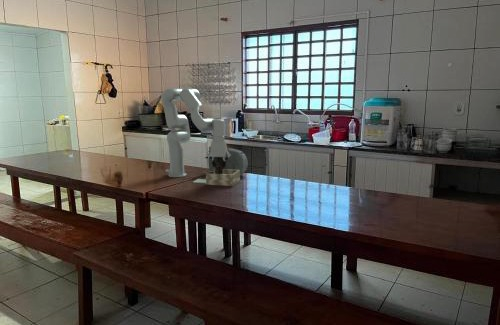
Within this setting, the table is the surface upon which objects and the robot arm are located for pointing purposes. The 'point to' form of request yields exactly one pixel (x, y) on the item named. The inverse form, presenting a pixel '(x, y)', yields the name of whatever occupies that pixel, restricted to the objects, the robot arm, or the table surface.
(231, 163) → the decorative stone tablet
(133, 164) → the table surface
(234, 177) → the beige woven basket
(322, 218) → the table surface
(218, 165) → the statue
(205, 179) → the mat
